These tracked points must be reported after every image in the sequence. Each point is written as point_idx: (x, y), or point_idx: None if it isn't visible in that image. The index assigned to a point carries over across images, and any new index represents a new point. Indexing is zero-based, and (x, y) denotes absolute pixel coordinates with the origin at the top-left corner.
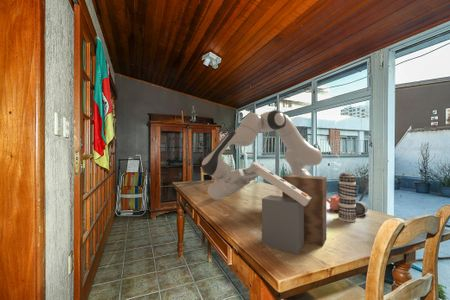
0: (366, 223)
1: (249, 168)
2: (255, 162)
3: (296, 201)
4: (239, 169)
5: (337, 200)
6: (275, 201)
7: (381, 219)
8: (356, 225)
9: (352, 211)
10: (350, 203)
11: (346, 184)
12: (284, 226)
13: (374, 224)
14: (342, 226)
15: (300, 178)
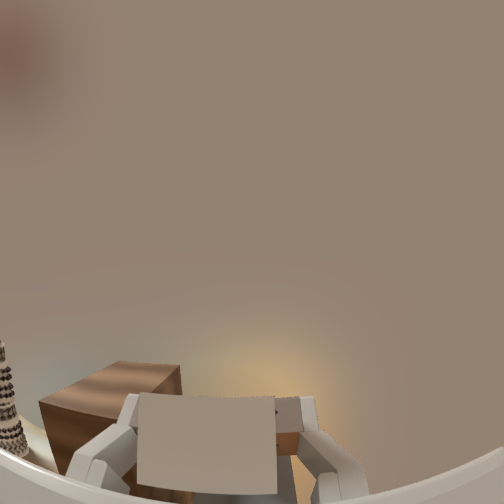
0: (39, 438)
1: (343, 456)
2: (183, 396)
3: None
4: (488, 453)
5: None
6: (296, 500)
7: (21, 418)
8: (49, 453)
9: (21, 428)
10: (15, 412)
11: (1, 368)
12: None
13: (45, 433)
14: (56, 472)
15: (156, 391)
